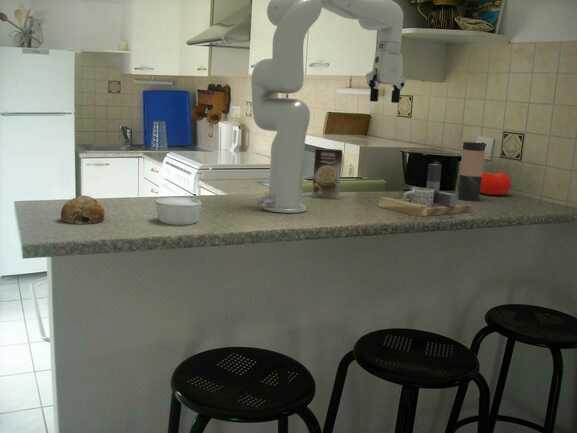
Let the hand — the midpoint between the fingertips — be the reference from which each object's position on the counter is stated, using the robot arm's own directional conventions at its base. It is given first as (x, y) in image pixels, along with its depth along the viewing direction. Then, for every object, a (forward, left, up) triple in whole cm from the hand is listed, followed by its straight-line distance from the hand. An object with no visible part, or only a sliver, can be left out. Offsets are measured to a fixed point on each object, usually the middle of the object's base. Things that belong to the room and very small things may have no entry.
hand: (384, 102), depth 208 cm
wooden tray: (0, -22, -32) cm, 39 cm away
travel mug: (+33, -12, -32) cm, 48 cm away
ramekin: (-80, -13, -33) cm, 87 cm away
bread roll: (-101, -4, -33) cm, 106 cm away
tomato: (+54, -6, -33) cm, 63 cm away
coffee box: (-16, +8, -32) cm, 37 cm away
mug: (-4, -22, -33) cm, 39 cm away
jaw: (+2, -22, -30) cm, 37 cm away
